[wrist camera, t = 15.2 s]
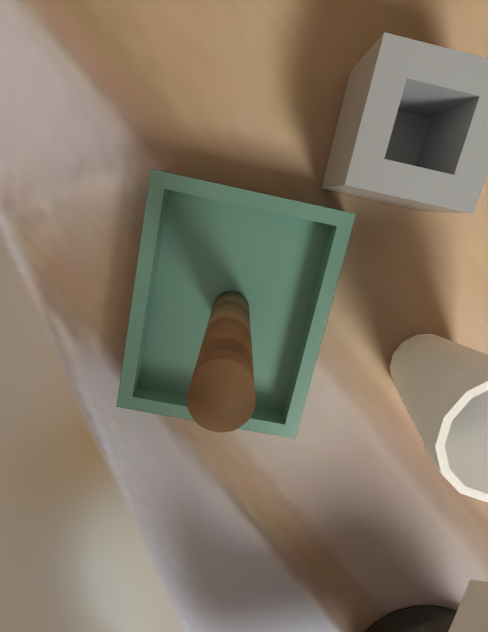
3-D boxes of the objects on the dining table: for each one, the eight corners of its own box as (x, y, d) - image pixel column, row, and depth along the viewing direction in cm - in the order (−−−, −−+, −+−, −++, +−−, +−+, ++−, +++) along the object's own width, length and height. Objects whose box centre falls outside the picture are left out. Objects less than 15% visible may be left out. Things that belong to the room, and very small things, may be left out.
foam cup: (353, 362, 39) (407, 437, 27) (432, 296, 38) (528, 343, 25) (414, 427, 41) (491, 525, 29) (491, 367, 40) (608, 443, 27)
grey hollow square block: (422, 211, 36) (473, 213, 28) (321, 188, 35) (344, 184, 28) (457, 98, 34) (523, 67, 26) (349, 71, 33) (384, 32, 25)
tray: (290, 419, 41) (295, 438, 38) (126, 389, 40) (116, 406, 36) (344, 212, 36) (356, 214, 32) (159, 172, 35) (150, 168, 31)
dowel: (245, 329, 37) (247, 437, 20) (209, 322, 37) (181, 425, 20) (252, 294, 37) (262, 376, 19) (216, 287, 36) (193, 363, 19)
